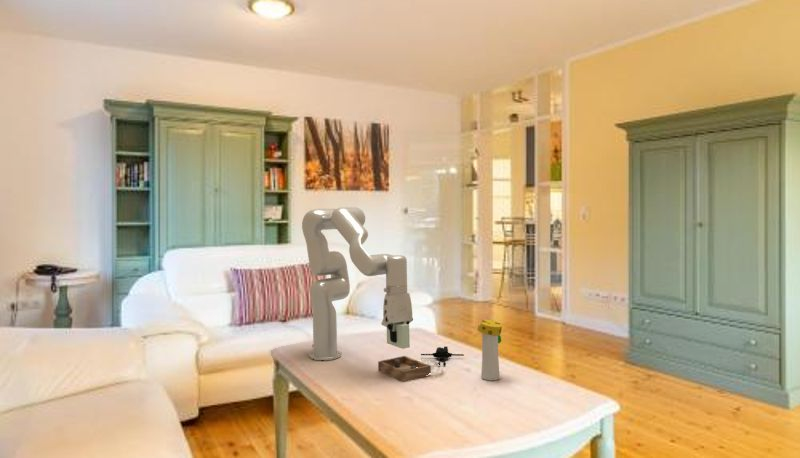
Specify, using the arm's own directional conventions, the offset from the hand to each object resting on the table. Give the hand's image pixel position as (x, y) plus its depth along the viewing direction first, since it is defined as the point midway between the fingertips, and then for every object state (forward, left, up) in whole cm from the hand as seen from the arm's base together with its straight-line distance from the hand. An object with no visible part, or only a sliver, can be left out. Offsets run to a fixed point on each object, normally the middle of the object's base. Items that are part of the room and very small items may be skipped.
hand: (397, 340), depth 187 cm
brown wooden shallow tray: (0, +3, -12) cm, 13 cm away
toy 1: (-4, +23, -13) cm, 27 cm away
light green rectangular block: (0, 0, -2) cm, 2 cm away
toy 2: (+23, +24, -13) cm, 35 cm away
